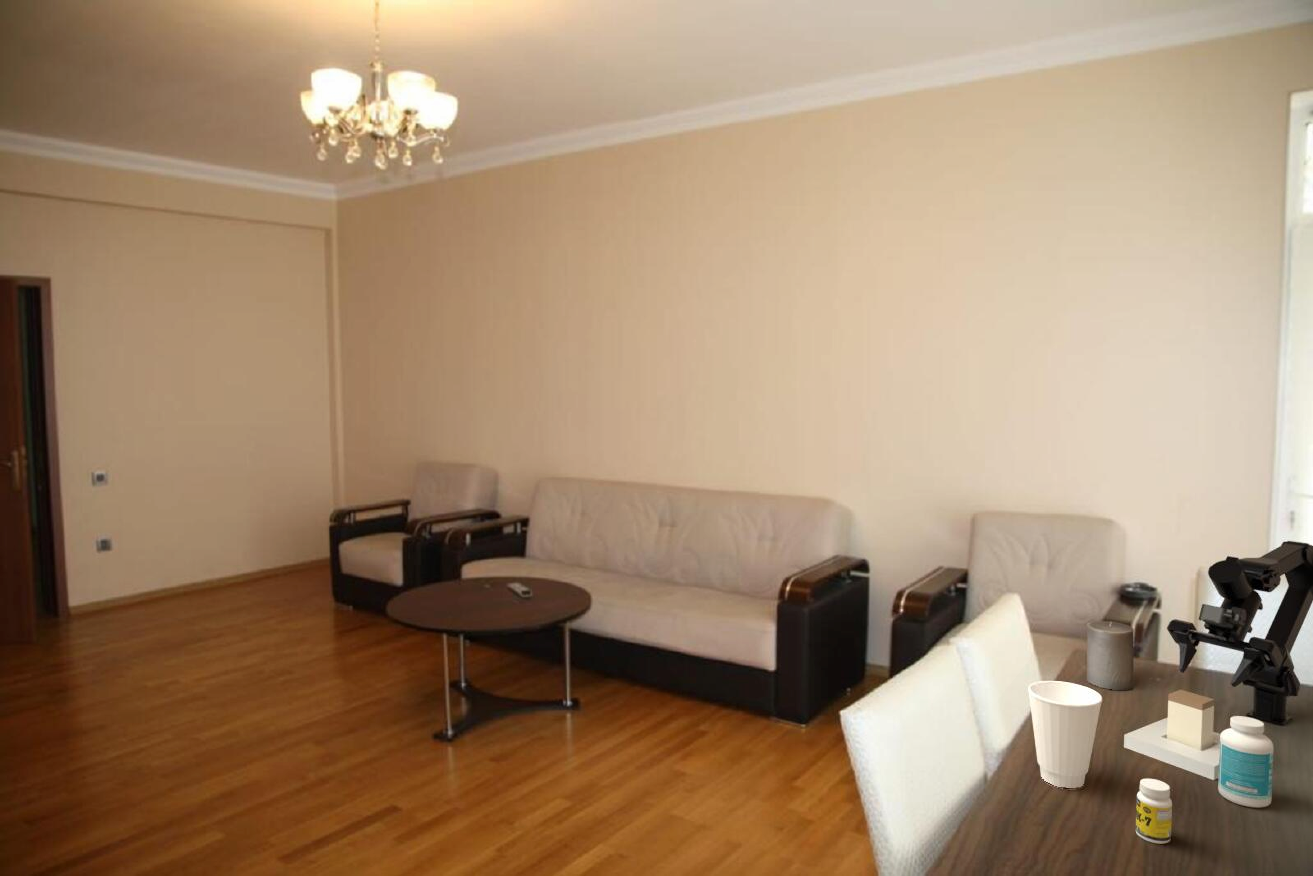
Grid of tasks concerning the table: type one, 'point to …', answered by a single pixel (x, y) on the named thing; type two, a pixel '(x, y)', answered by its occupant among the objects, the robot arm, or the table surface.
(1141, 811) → the supplement bottle
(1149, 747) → the socket plate
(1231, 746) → the pill bottle
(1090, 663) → the pillar candle
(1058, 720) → the cup
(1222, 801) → the table surface
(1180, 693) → the tan topped cream pillar
